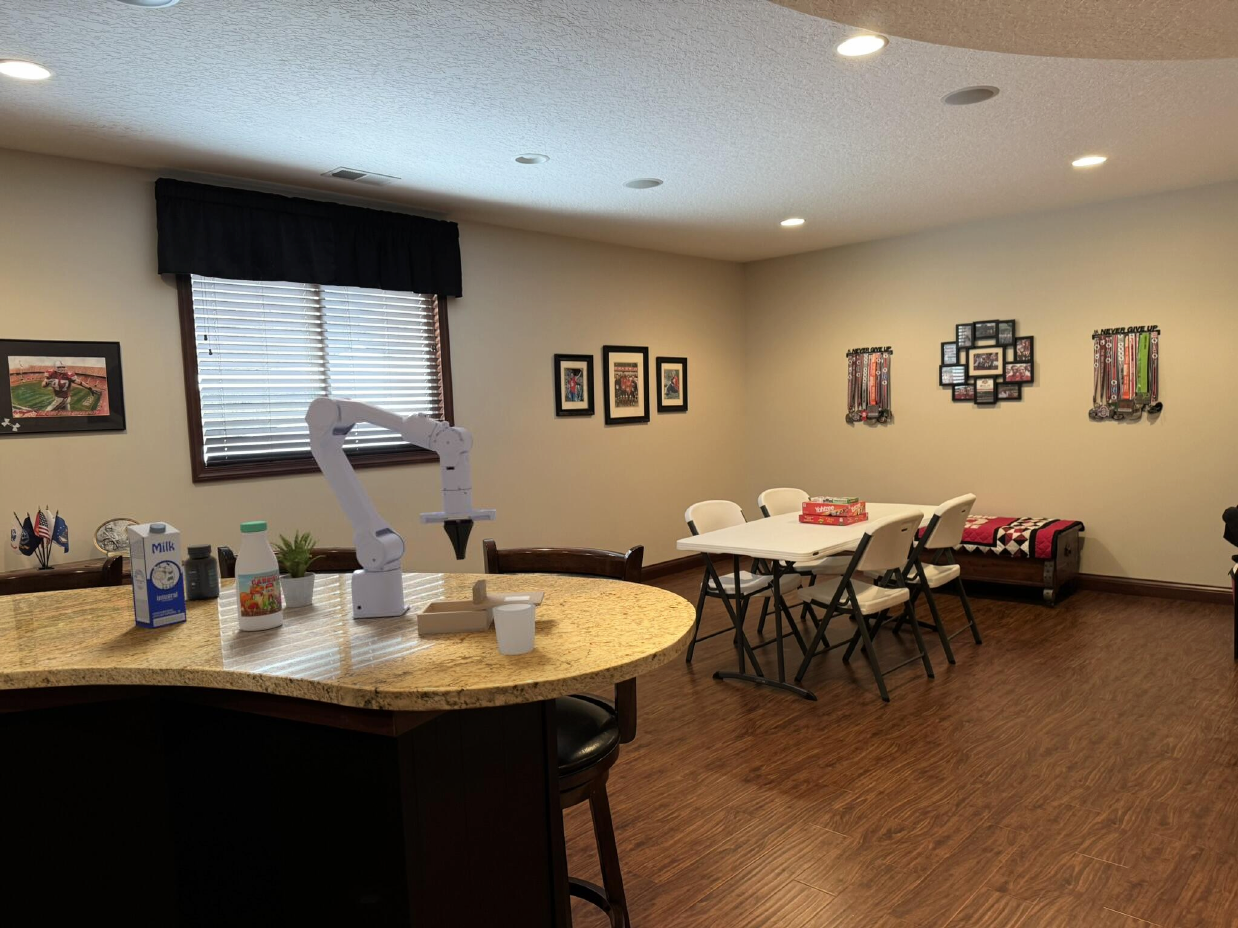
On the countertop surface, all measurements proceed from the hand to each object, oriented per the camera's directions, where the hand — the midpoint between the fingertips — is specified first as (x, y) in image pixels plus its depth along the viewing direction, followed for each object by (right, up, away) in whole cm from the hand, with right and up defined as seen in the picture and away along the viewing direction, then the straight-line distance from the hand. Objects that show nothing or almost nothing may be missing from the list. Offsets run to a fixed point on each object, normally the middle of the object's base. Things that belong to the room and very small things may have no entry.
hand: (461, 558), depth 161 cm
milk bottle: (-37, -13, -3) cm, 40 cm away
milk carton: (-60, -14, +4) cm, 62 cm away
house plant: (-38, -12, +17) cm, 43 cm away
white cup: (+14, -12, -28) cm, 34 cm away
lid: (+11, -7, -10) cm, 16 cm away
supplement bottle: (-64, -12, +28) cm, 71 cm away
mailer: (+1, -11, -10) cm, 15 cm away
